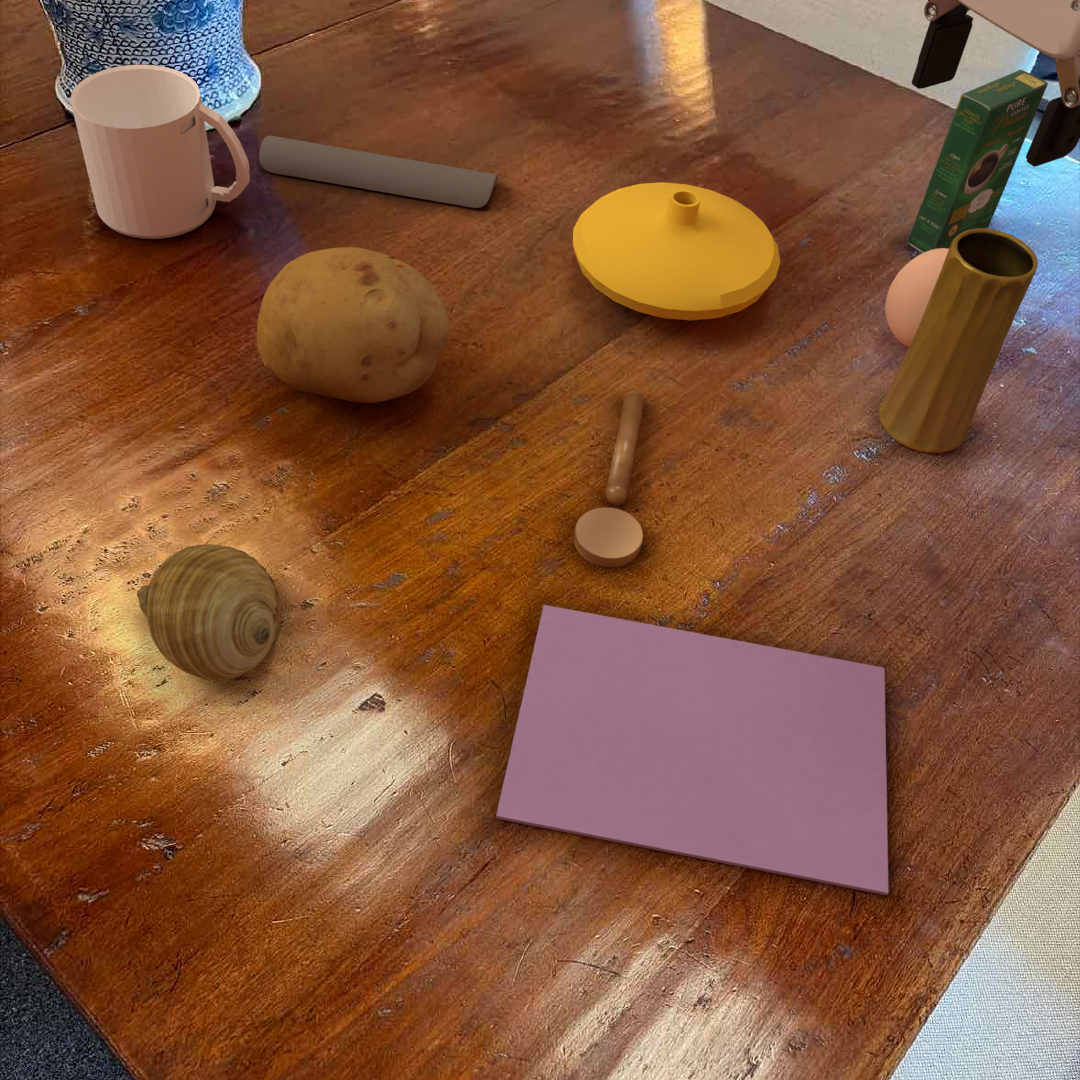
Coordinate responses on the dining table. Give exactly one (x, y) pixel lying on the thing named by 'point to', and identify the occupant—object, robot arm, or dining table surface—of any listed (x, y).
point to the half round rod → (376, 172)
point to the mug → (151, 150)
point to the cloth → (703, 749)
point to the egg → (913, 293)
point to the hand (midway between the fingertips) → (986, 119)
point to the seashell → (212, 611)
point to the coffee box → (976, 159)
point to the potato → (352, 325)
